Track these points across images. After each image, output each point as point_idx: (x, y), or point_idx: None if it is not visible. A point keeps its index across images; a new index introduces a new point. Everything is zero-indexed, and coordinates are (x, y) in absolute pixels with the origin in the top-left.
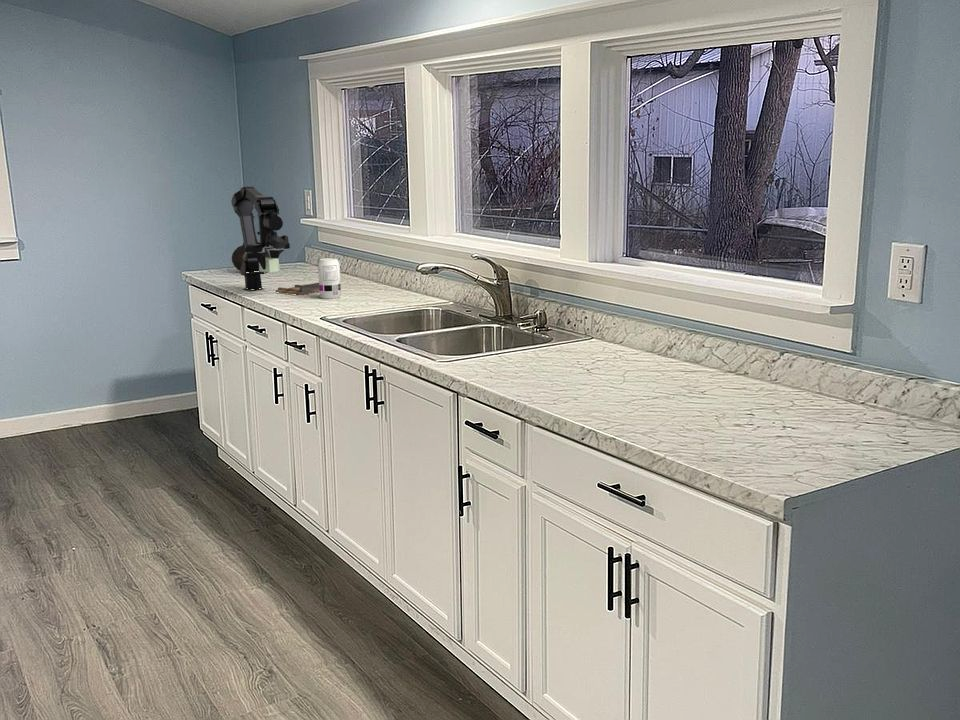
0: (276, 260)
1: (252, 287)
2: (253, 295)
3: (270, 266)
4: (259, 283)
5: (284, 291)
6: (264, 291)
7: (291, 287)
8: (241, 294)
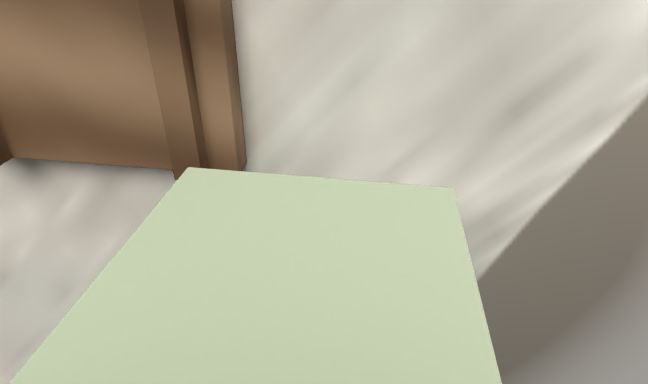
0: (132, 375)
1: None
2: None
3: (438, 273)
4: None
5: (225, 52)
6: None
7: (50, 157)
8: None
